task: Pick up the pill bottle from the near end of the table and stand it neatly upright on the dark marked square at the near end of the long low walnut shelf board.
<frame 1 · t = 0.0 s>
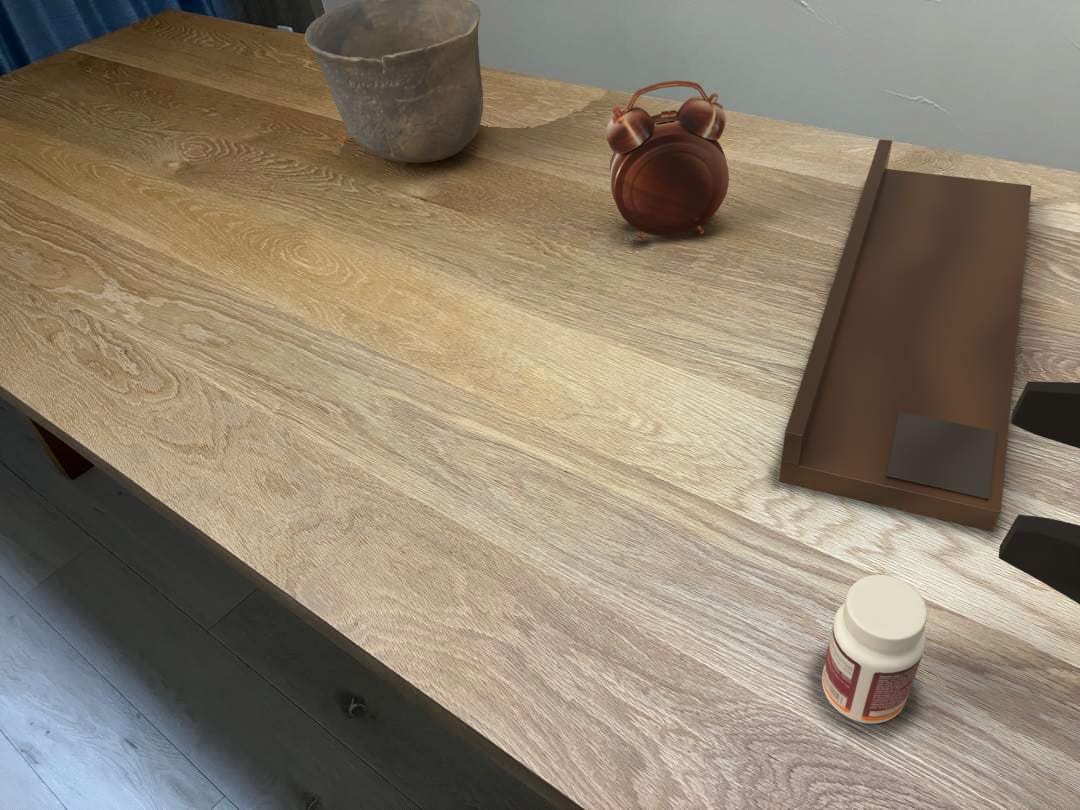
hand: (1013, 465, 37), 21 cm above the table, tool horizontal, fingers open, 7 cm apart
shelf: (919, 323, 75), on the table
pill bottle: (862, 688, 53), on the table
alarm clock: (666, 233, 89), on the table
bowl: (418, 154, 105), on the table
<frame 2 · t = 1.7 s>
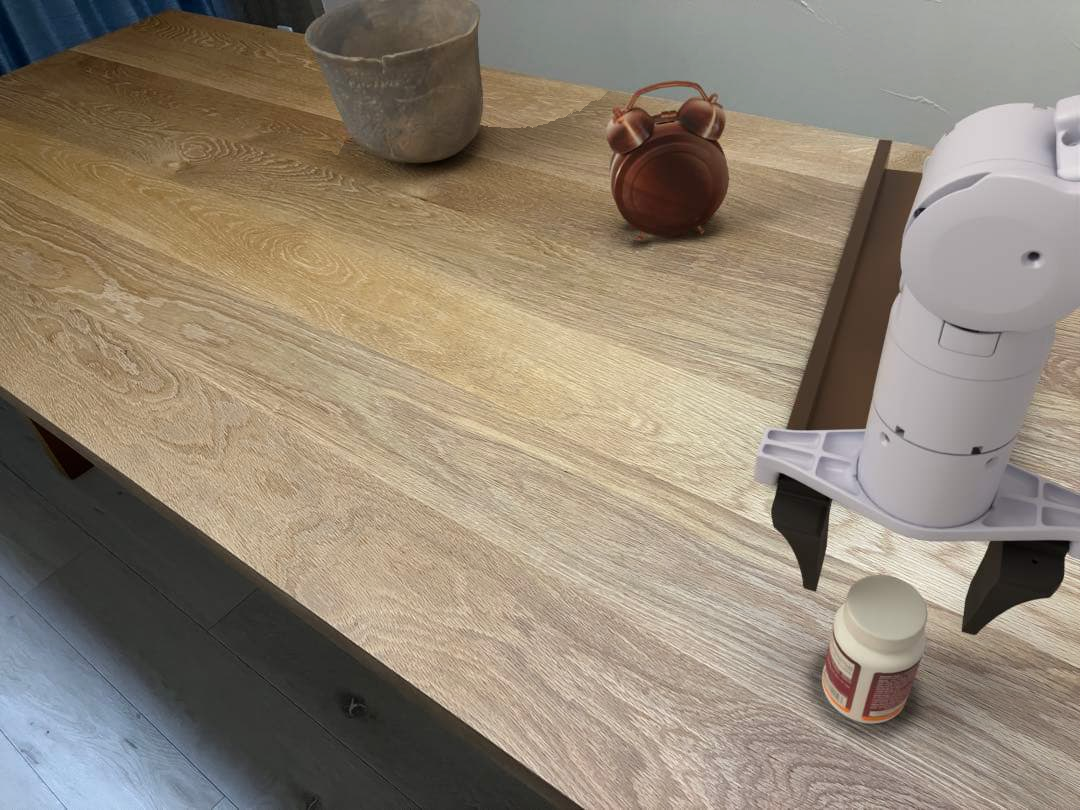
hand: (889, 595, 47), 9 cm above the table, tool pointing down, fingers open, 7 cm apart
nothing on the table moved.
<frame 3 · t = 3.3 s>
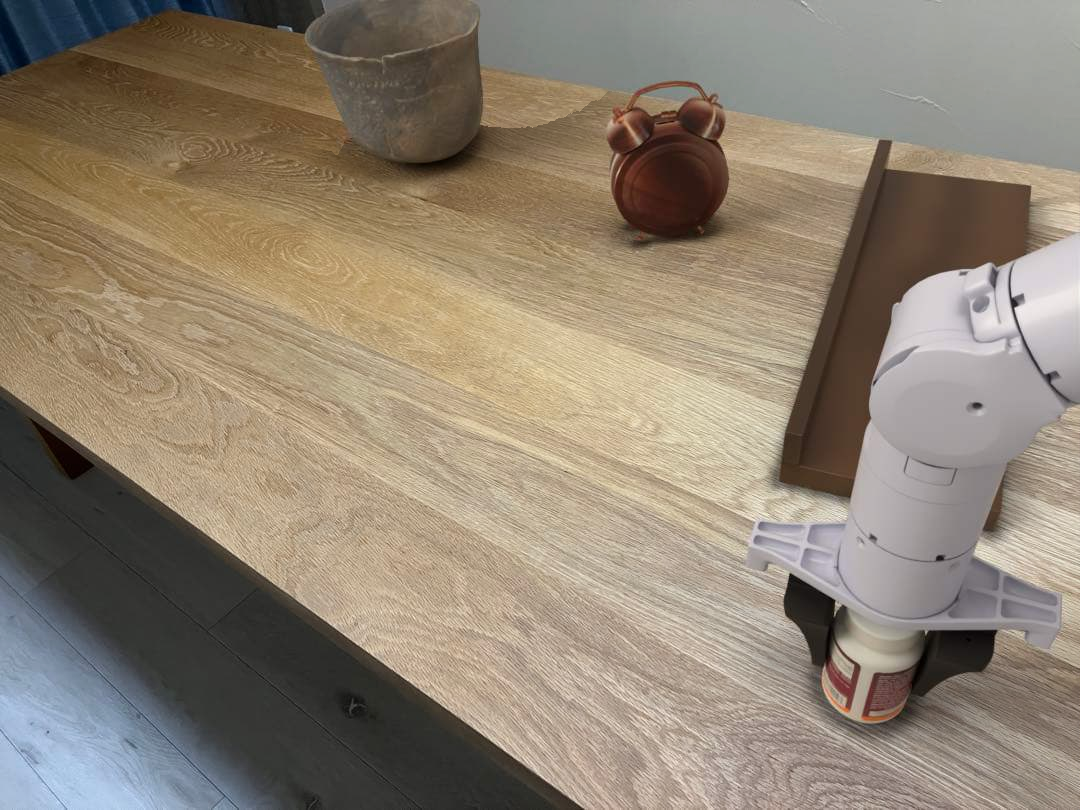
hand: (869, 665, 51), 2 cm above the table, tool pointing down, fingers closed on pill bottle, 5 cm apart
pill bottle: (862, 688, 53), on the table, touching gripper
everything else where it was.
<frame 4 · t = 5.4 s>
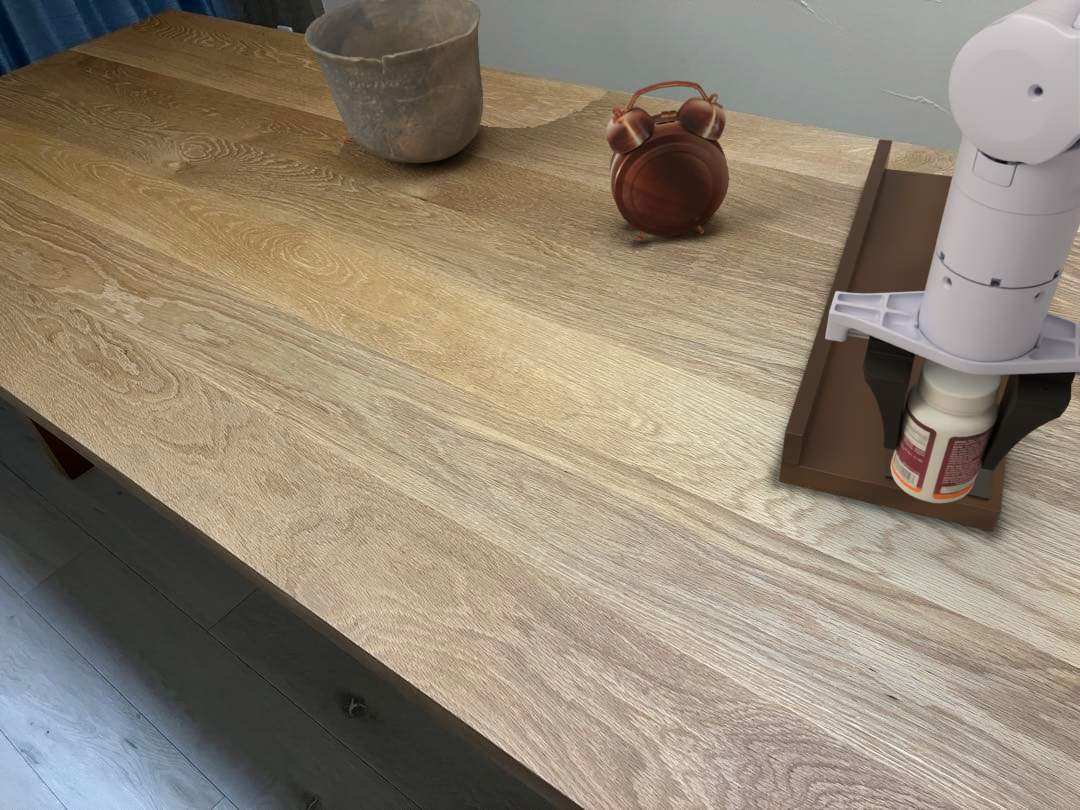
hand: (940, 447, 53), 9 cm above the table, tool pointing down, fingers closed on pill bottle, 5 cm apart
pill bottle: (929, 477, 55), point 7 cm above the table, touching gripper
everything else where it was.
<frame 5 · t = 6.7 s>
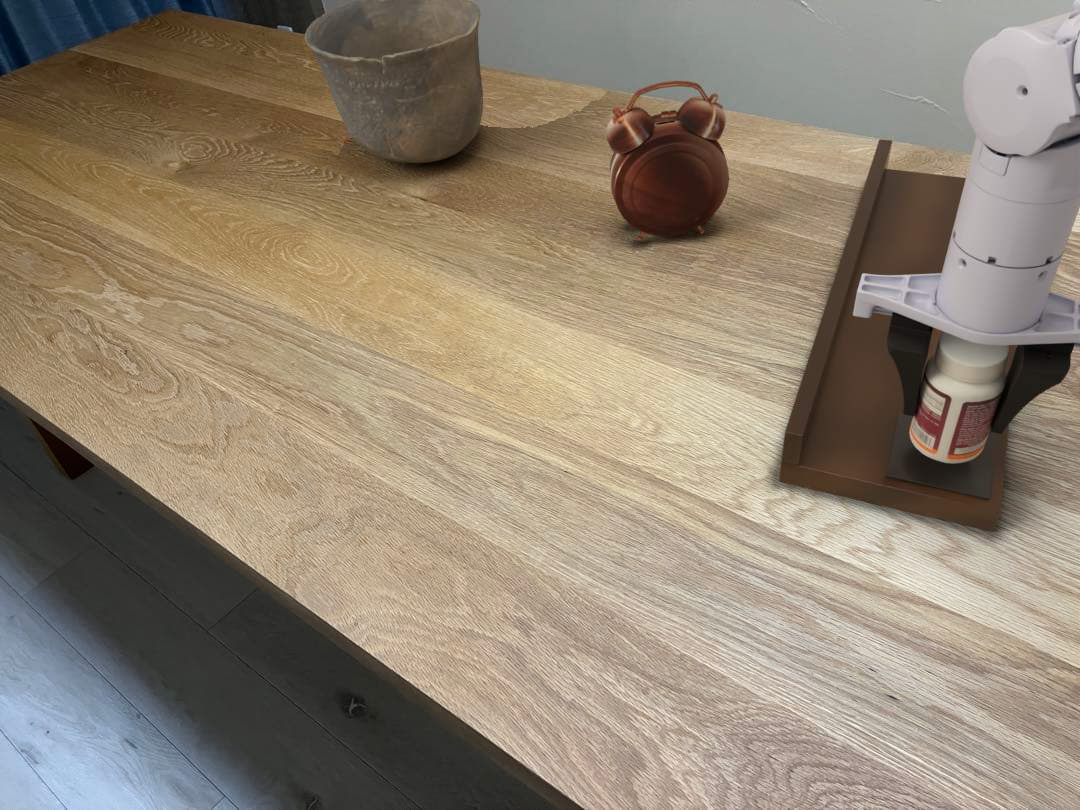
hand: (953, 414, 60), 6 cm above the table, tool pointing down, fingers closed on pill bottle, 5 cm apart
pill bottle: (944, 441, 62), point 3 cm above the table, touching gripper
everything else where it was.
when the fingers open (5 cm above the table, at t = 7.7 s): pill bottle stays where it is, resting on shelf.
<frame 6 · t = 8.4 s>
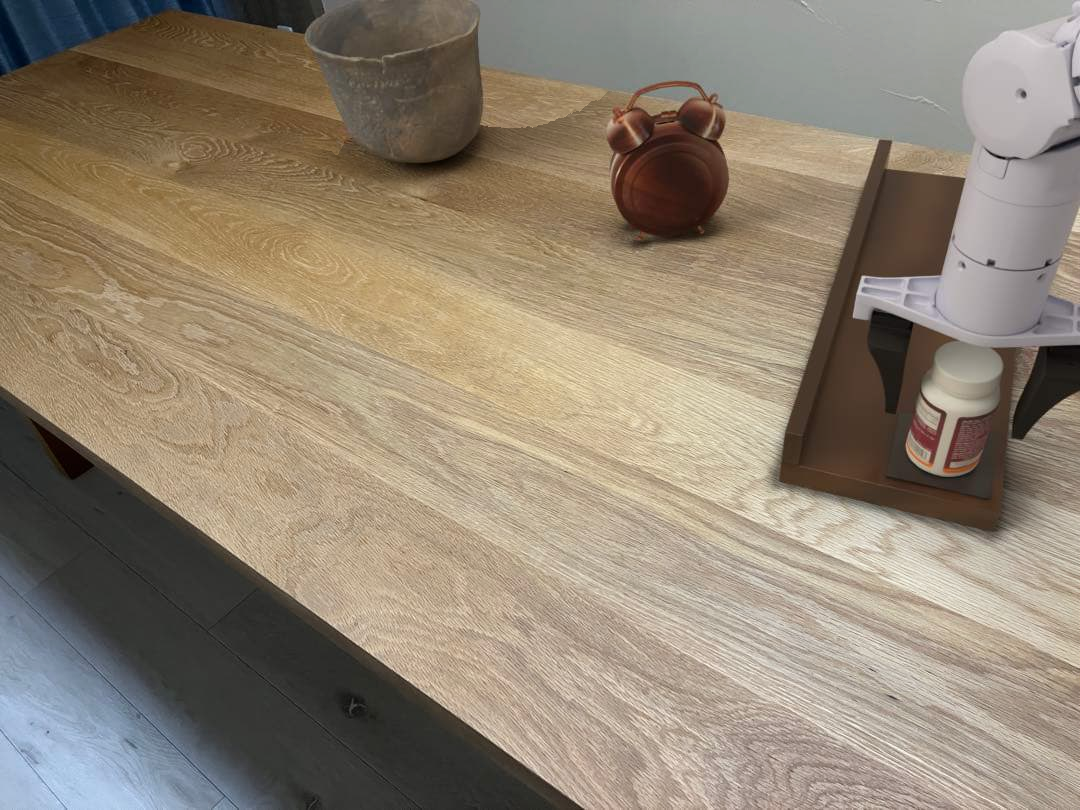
hand: (953, 416, 60), 6 cm above the table, tool pointing down, fingers open, 7 cm apart
pill bottle: (940, 454, 63), point 2 cm above the table, touching shelf
everything else where it was.
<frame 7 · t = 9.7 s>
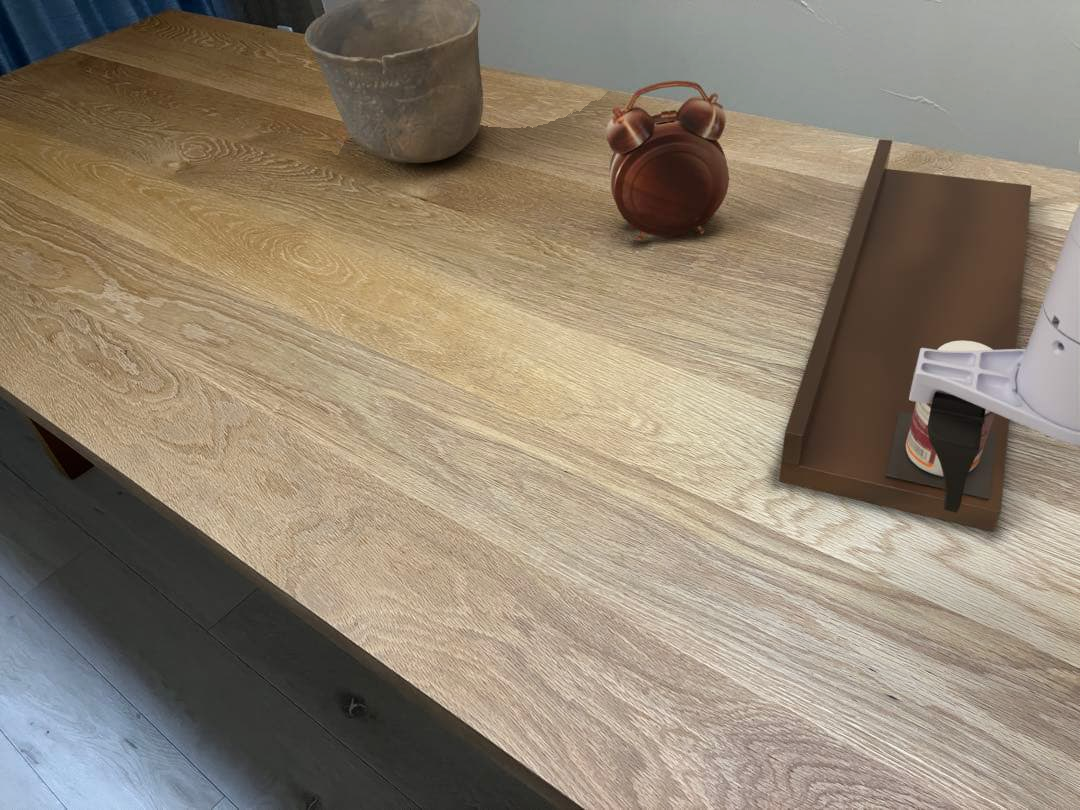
hand: (1029, 515, 49), 10 cm above the table, tool pointing down, fingers open, 7 cm apart
nothing on the table moved.
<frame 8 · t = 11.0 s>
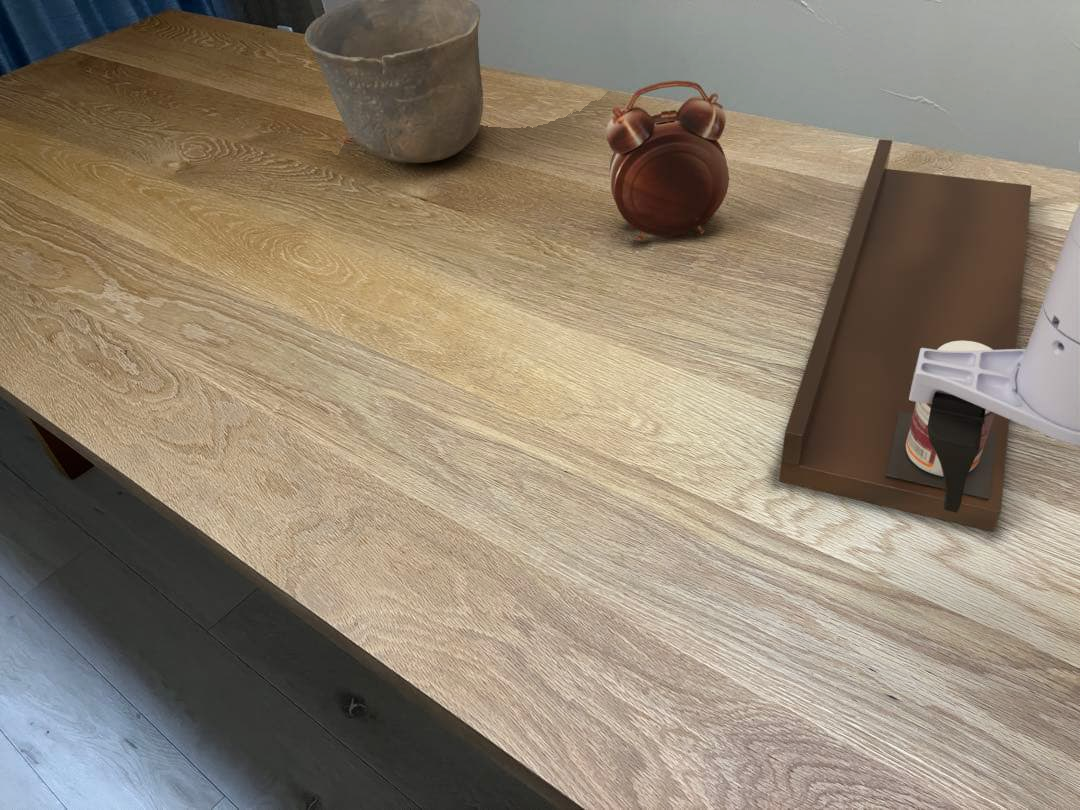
hand: (1029, 515, 49), 10 cm above the table, tool pointing down, fingers open, 7 cm apart
nothing on the table moved.
at the end: pill bottle 0.1 cm from the target spot on the shelf, point 2.0 cm above the shelf's base; pill bottle tilted 0°; the gripper is holding nothing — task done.
